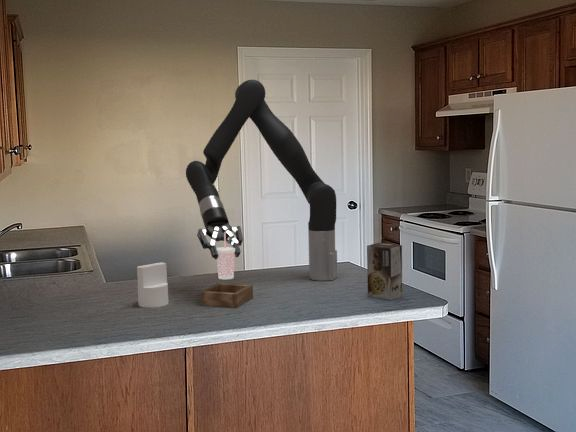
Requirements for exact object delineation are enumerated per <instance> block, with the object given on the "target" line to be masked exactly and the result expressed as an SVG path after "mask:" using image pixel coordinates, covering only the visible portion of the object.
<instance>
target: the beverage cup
mask: <svg viewBox="0 0 576 432" xmlns="http://www.w3.org/2000/svg"><path fill="white" fill-rule="evenodd" d="M223 242H224V243H223V244H224V245H223V246H222V247H220V246H219V247H216V249H217V252H218V259H216V266H217V267H216V268H217V274H218V280H233V279H234V278H235V277H234V276H235V254H234V252H235V248H233V246H227V242H226V232H224V241H223Z"/></svg>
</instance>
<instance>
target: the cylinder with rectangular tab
mask: <svg viewBox="0 0 576 432" xmlns="http://www.w3.org/2000/svg"><path fill="white" fill-rule="evenodd" d="M136 272H137V273H136V274H137V300H138V302H137V304H138V306H139V307H141V308H159V307H164V306H166V305H168V304H169V284H168V275H167V273H168V269H167V263H166V262H161V261H160V262H156V263H155V262H154V263H150V264H144V265H143V264H142V265H139V266H136Z"/></svg>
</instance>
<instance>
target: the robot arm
mask: <svg viewBox="0 0 576 432" xmlns="http://www.w3.org/2000/svg"><path fill="white" fill-rule="evenodd" d="M234 96H235V99H234V100H235V101H234V103H233V104H232V107H231V108H230V110H229V112H228V114H227V115H226V116H225V118H224V119H223V120H222V122H221V123H220V125H219V126H218V127H217V129H216V130H215V131H214V133H213V134H212V136H211V137H210V139H209V141H208V142H207V143H206V145H205V147H204V149H203V151H202V153H203V155H204V157H205V159H206V161H205V163H204V162H202V161H200V160H193V161H191V162H190V163H188V165H187V166H186V168H185V177H186V180H187V182H188V184H189V186H190V187H191V190H192V191H193V193H194V194H195V197H196V200H197V203H198V207H199V213H200V216H201V218H202V219H201V220H202V222H203V225H204V228H205V229H202V228H199V229H198V230H197V234H196V235H197V236H196V237H197V238H198V240H199V243H200V245H201V247H202V249H203V250H206V249H208V250H209V251H210V255H211V258H212V259H214V260H217V259H218V252H217V249H216V248H217V246H216V245H215V243H216V242H220V241H221V242H224V232H226V244H228V245H230V246H231V247H233V248H235V252H234V258H239V257H240V255H241V252H242V251H241V248H240V246H242V243H243V241H244V238H243V233H242V228H241V226H240V225H237V226H236V227H235V226H234V227H232V226H231V224H230V221H229V219H228V215H227V213H226V209H225V207H224V204H223V202H222V200H221V197H220V194H219V191H218V189H217V188H216V186H215V185H214V184H215V182H216V180H217V178H218V175H219V172H220V169H221V166H222V163H223V160H224V159H225V157H226V155H227V154H228V153H229V150H230V148H231V147H232V145H233V144H234V142H235V140H236V138H237V136H238V135H239V134H240V131H241V130H242V128H243V126H244V125H245V123H246V122H247V121H248V119H250V120H251V122H253V124H254V125H255V126H256V128H257V129H258V131H259V133H260V134H261V136H262V137H263V139H264V141H265V142H266V144H267V145H268V146H269V148H270V150H271V151H272V153H273V154H274V156H275V157H276V158H277V160H278V161H279V162H280V164H281V165H282V167H284V168H285V170H286V171H287V172H288V173H289V175H291V177H292V178H293V179H294V181H295V182H296V184H297V185H298V187H299V189H300V190H301V192H302V194H303V196H304V197H305V200H306V201H307V203H308V205H309V220H308V222H307V223H308V231H307V232H308V233H307V234H308V275H309V280H313V281H319V282H320V281H334V280H335V279H337V277H338V250H337V249H336V222H337V194H336V191H335V190H334V188H333V187H332V186H330V185H329V184H326V183H325V182H324V181H323V179H321V178H320V176H319V175H318V174H317V172H315V170H314V168H313V166H312V165H311V163H310V161H309V157H308V156H307V154H306V151H305V150H304V148H303V146H302V144H301V143H300V142H299V139H297V137H296V135H295V134H294V133H293V132H292V130H291V129H290V127H288V126H287V125H286V124H285V123H284V122H283V121H282V120H281V119H280V118H278V117H277V116H276V115H275V114H274V113H273V111H272V109H271V108H270V107H269V105H268V103H267V102H266V100H265V99H266V87H265V86H264V84H263V83H262V82H260V81H259V80H258V79H257V80H256V79H247V80H245V81H243V82H242V83H241V84H239V85H238V86H237V88H236V89H235V93H234ZM206 236H208V237H209V238H210V242H209V241H208V238H207V237H206Z"/></svg>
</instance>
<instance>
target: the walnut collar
mask: <svg viewBox="0 0 576 432" xmlns="http://www.w3.org/2000/svg"><path fill="white" fill-rule="evenodd" d="M253 287H254V286H253V285H252V284H238V283H237V284H236V283H234V284H233V283H218V282H217V283H215V284H213V285H211V286H210V287H207V288H206V289H204V290H202V291H200V293H199V296H200V306H205V307H206V306H207V307H208V306H209V307H222V308H233V309H234V308H235V309H236V308H237V309H238V308H239V307H241V306H242V305H245V304H246V303H248V302H249V301H251V300H252V299H254V292H253V291H254V288H253Z"/></svg>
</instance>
